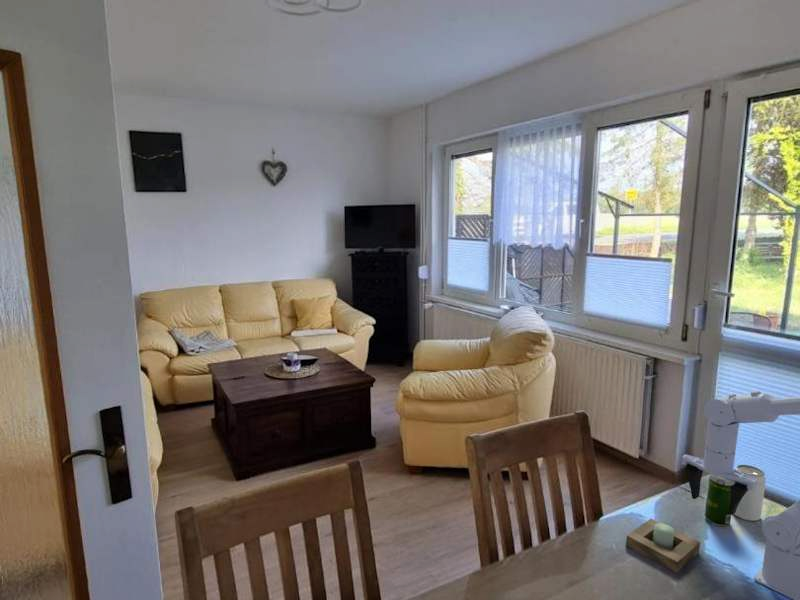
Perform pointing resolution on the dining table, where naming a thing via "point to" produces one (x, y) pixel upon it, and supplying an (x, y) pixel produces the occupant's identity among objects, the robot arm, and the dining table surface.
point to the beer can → (718, 501)
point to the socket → (670, 559)
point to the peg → (663, 535)
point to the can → (751, 495)
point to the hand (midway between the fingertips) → (713, 504)
